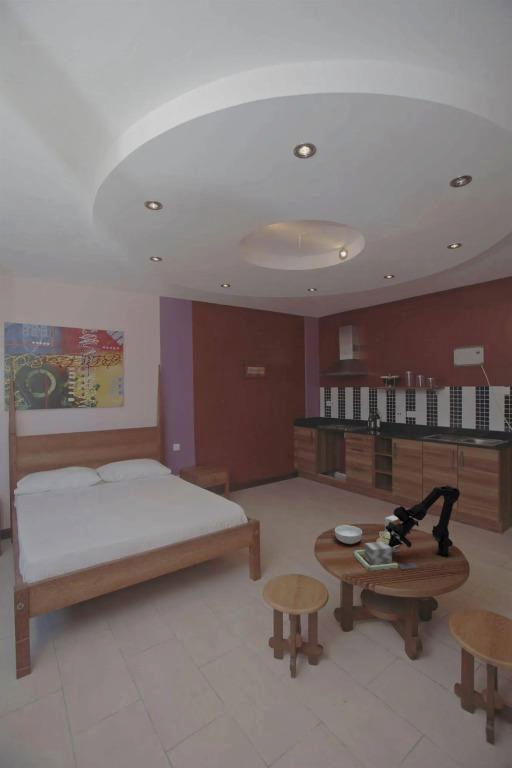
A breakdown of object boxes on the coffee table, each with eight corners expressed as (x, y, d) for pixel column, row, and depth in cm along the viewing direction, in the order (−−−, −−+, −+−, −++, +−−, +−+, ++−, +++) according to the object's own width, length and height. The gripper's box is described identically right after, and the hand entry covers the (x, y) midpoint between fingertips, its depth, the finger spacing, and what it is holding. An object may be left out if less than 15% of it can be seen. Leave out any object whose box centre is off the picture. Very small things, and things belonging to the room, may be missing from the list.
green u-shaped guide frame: (394, 548, 214) (394, 545, 214) (418, 567, 192) (418, 564, 192) (351, 552, 209) (351, 549, 209) (370, 573, 187) (370, 569, 187)
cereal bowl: (344, 533, 236) (344, 522, 236) (367, 541, 223) (367, 530, 223) (329, 541, 224) (329, 530, 224) (352, 550, 212) (352, 538, 212)
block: (384, 556, 205) (384, 541, 205) (391, 563, 197) (391, 547, 197) (364, 558, 203) (364, 543, 203) (371, 565, 195) (371, 549, 195)
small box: (393, 541, 224) (393, 520, 223) (384, 537, 229) (384, 517, 229) (401, 538, 228) (401, 518, 228) (392, 534, 233) (392, 514, 233)
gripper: (387, 511, 211) (370, 531, 209) (406, 523, 193) (388, 545, 191) (400, 523, 212) (383, 543, 211) (419, 537, 194) (401, 559, 192)
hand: (388, 547), depth 201 cm, fingers closed, pressing on block
